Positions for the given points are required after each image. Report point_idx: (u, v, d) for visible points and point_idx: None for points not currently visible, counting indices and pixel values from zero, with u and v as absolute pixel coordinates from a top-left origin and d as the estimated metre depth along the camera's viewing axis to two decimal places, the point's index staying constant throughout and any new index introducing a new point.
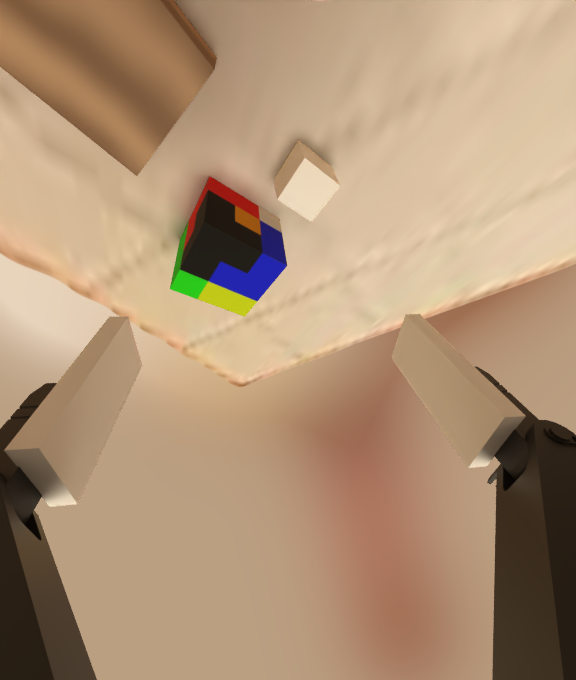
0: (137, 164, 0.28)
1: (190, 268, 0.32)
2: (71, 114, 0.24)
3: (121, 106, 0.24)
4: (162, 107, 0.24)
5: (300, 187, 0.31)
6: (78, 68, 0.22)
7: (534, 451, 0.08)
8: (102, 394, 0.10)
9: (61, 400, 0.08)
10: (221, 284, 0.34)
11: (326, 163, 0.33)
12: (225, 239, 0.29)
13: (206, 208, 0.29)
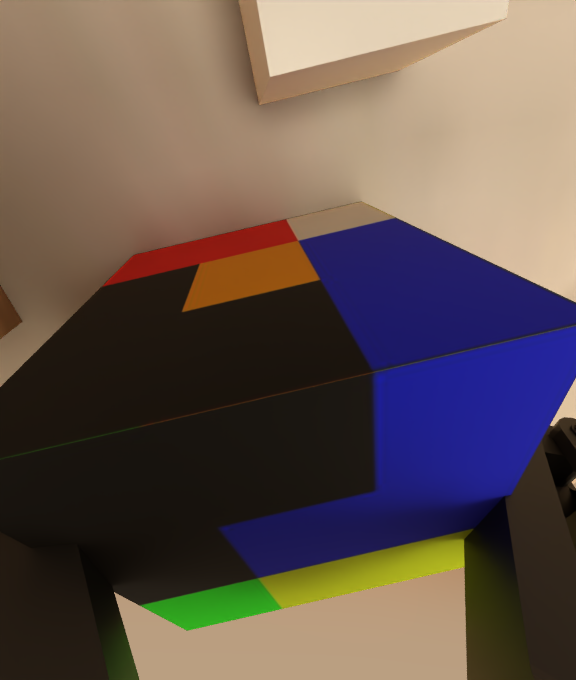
0: None
1: (161, 590, 0.07)
2: None
3: None
4: None
5: None
6: None
7: None
8: None
9: None
10: (309, 561, 0.08)
11: None
12: (109, 462, 0.04)
13: (30, 360, 0.06)
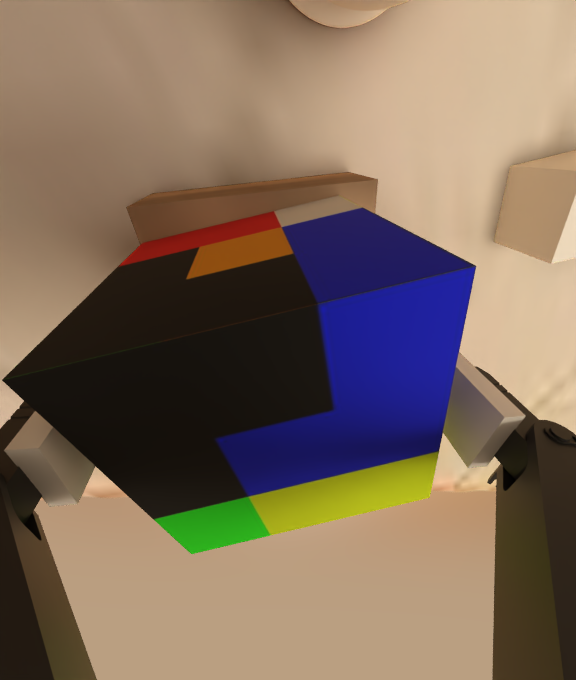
0: None
1: (171, 502, 0.09)
2: None
3: None
4: None
5: None
6: None
7: (534, 451, 0.08)
8: None
9: None
10: (288, 481, 0.09)
11: None
12: (138, 371, 0.06)
13: (70, 315, 0.08)
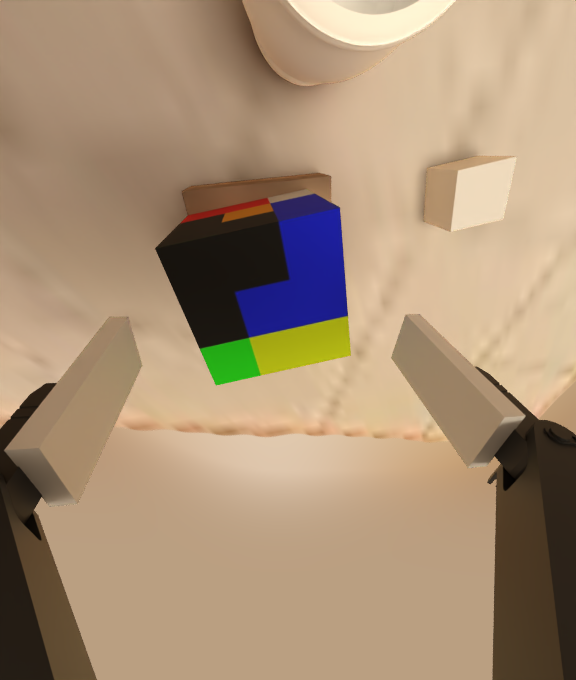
0: None
1: (210, 336, 0.18)
2: None
3: None
4: None
5: (469, 200, 0.25)
6: None
7: (534, 451, 0.08)
8: (102, 394, 0.10)
9: (61, 400, 0.08)
10: (270, 328, 0.18)
11: (470, 158, 0.27)
12: (206, 248, 0.15)
13: (168, 236, 0.17)
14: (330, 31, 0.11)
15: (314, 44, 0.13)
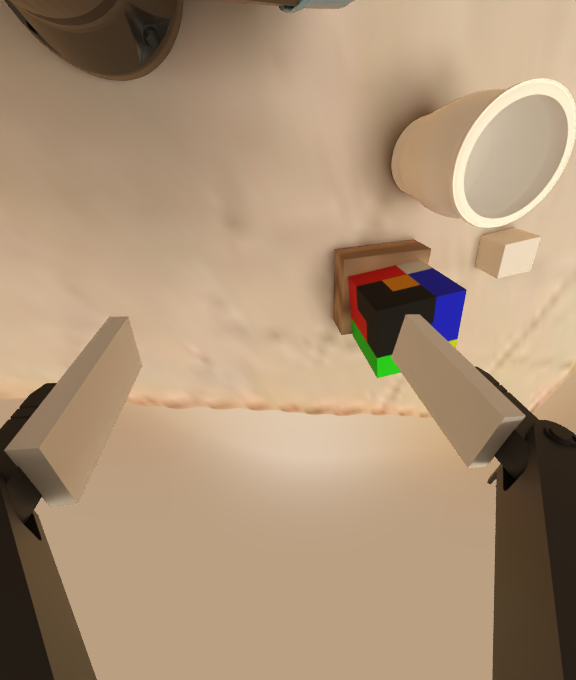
0: None
1: (384, 351, 0.34)
2: None
3: None
4: None
5: (510, 260, 0.40)
6: None
7: (534, 451, 0.08)
8: (102, 394, 0.10)
9: (61, 400, 0.08)
10: None
11: (509, 229, 0.43)
12: (399, 310, 0.31)
13: (368, 300, 0.33)
14: (475, 223, 0.26)
15: (458, 216, 0.28)
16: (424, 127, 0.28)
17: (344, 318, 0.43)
